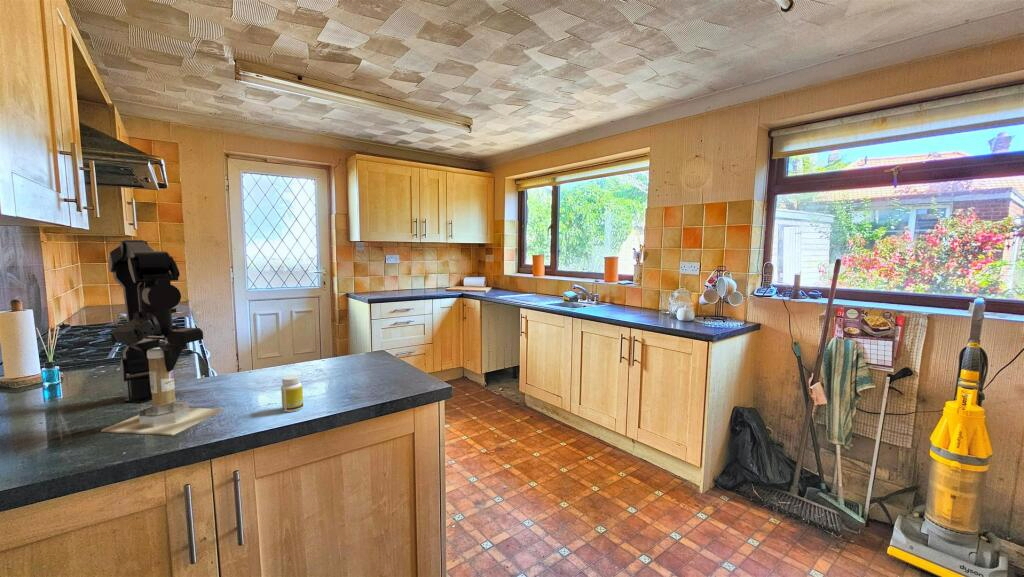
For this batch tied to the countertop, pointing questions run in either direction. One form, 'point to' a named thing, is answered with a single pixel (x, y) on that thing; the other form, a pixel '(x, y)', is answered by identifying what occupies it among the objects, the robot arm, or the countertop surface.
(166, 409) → the socket collar
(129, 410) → the countertop surface
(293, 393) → the supplement bottle
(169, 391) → the sprinkles bottle
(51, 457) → the countertop surface
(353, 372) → the countertop surface
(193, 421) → the dock plate
